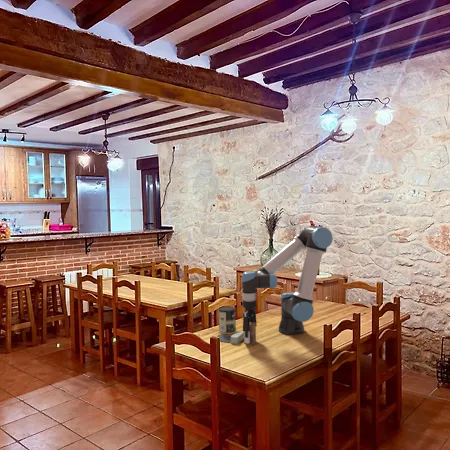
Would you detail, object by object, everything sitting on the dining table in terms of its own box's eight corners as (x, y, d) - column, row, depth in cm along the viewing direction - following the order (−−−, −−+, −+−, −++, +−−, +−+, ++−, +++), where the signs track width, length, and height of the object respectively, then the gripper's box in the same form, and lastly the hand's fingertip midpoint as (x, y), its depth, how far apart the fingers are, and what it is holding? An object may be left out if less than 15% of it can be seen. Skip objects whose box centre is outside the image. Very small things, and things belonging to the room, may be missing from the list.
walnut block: (255, 341, 241) (255, 322, 240) (252, 344, 237) (252, 324, 236) (247, 340, 243) (247, 321, 242) (244, 343, 239) (243, 324, 238)
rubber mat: (236, 337, 250) (236, 336, 250) (229, 342, 240) (229, 342, 240) (219, 335, 254) (219, 334, 254) (211, 340, 245) (211, 340, 245)
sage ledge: (243, 338, 248) (243, 332, 248) (237, 343, 239) (237, 337, 238) (237, 337, 249) (237, 331, 249) (230, 342, 240) (230, 336, 240)
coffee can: (237, 329, 265) (236, 306, 264) (234, 334, 255) (233, 310, 254) (220, 328, 267) (220, 306, 266) (217, 333, 257) (216, 310, 256)
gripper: (249, 295, 250) (250, 334, 251) (235, 303, 230) (236, 345, 232) (261, 296, 247) (262, 335, 248) (249, 305, 227) (249, 347, 229)
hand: (250, 340), depth 240 cm, fingers open, 8 cm apart
